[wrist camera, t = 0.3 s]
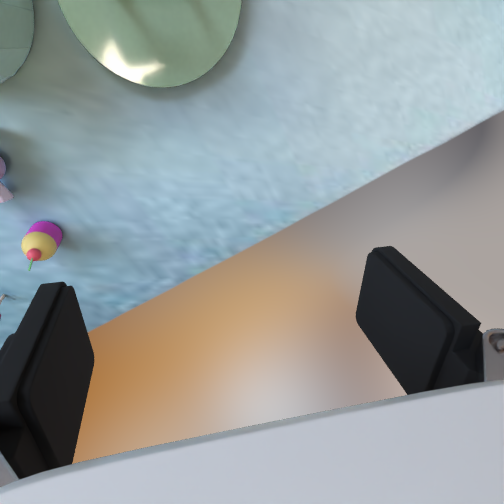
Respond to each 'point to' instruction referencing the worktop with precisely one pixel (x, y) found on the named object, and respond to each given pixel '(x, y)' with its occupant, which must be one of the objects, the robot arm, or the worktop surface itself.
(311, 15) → the worktop surface
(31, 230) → the candies
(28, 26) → the canister
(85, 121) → the worktop surface
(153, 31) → the lid
